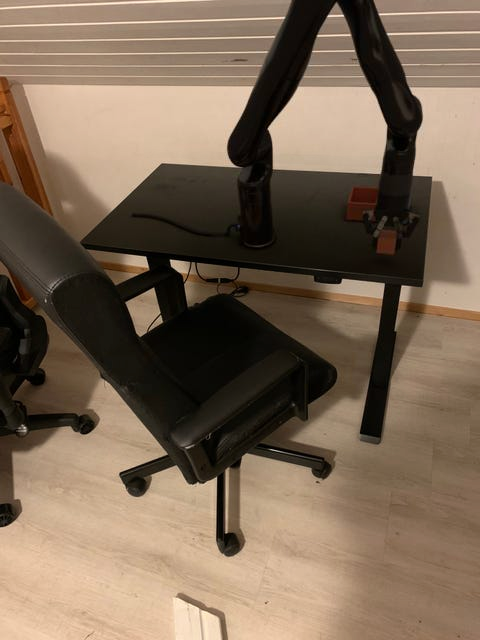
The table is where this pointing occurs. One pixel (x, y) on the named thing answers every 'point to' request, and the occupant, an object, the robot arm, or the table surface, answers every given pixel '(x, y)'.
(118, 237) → the table surface
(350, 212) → the terracotta bin
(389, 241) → the terracotta block
